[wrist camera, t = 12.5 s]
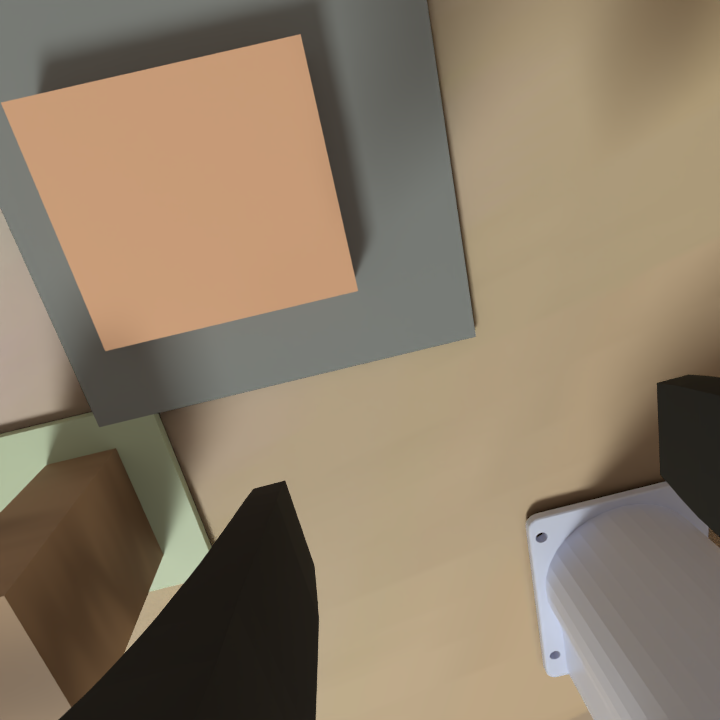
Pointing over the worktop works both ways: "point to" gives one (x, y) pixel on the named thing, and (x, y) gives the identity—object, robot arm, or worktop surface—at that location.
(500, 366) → the worktop surface
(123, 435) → the rest pad
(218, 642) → the robot arm
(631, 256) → the worktop surface
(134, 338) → the tile
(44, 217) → the mat
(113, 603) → the walnut block
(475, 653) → the worktop surface
